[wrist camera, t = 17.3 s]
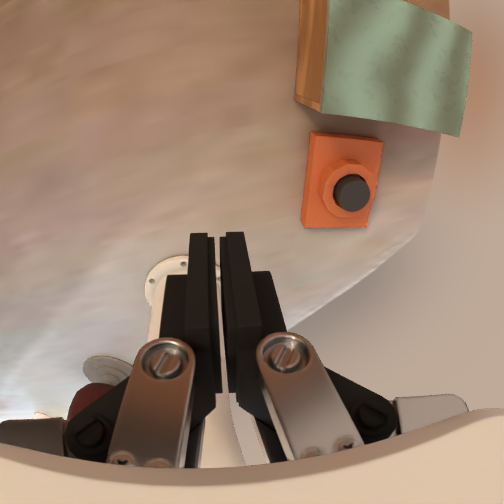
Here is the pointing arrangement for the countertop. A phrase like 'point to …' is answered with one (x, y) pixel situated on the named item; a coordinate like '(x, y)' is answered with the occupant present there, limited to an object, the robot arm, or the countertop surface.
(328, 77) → the green box lid
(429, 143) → the countertop surface
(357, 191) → the button
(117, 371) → the mate gourd
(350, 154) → the button block
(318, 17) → the wooden box
